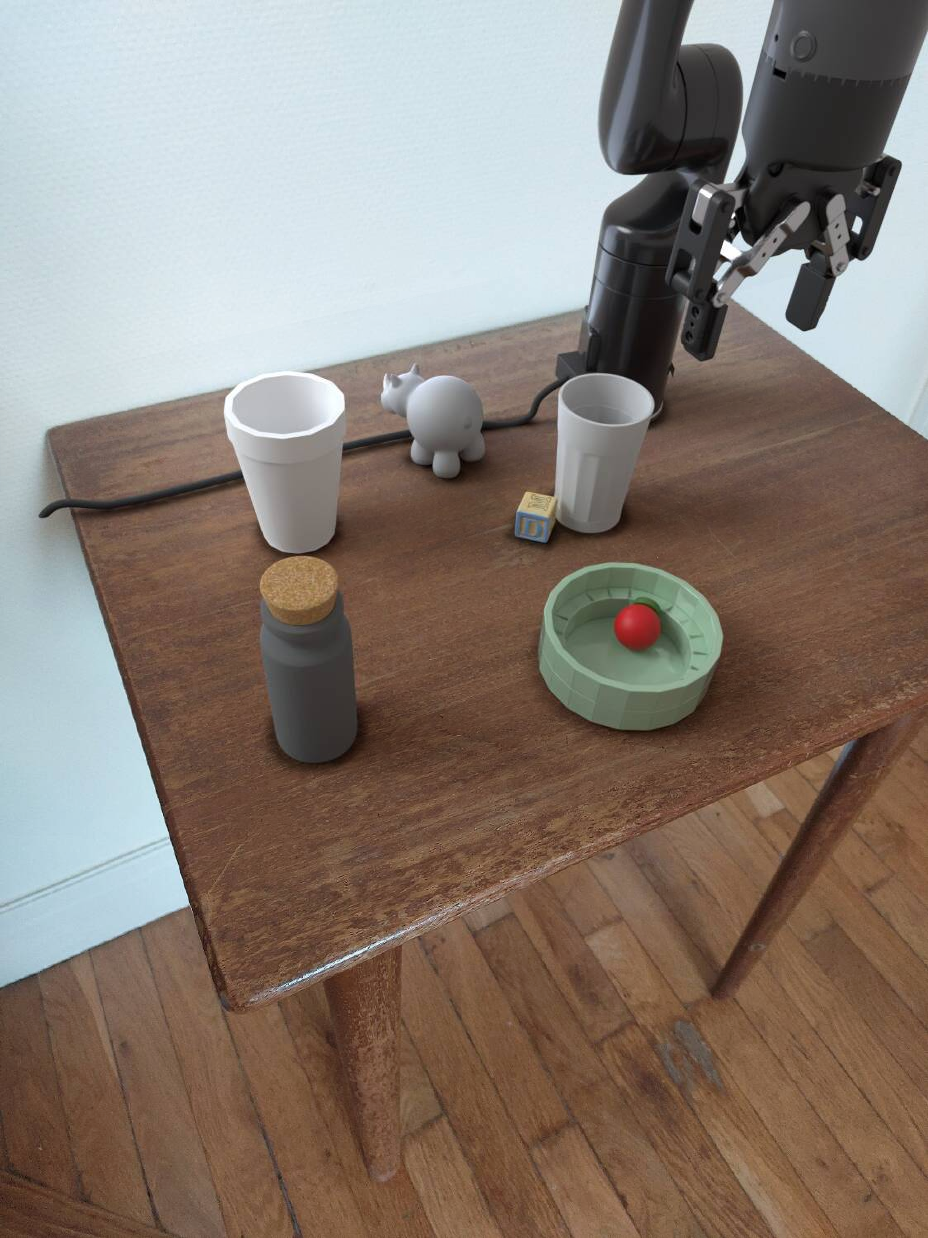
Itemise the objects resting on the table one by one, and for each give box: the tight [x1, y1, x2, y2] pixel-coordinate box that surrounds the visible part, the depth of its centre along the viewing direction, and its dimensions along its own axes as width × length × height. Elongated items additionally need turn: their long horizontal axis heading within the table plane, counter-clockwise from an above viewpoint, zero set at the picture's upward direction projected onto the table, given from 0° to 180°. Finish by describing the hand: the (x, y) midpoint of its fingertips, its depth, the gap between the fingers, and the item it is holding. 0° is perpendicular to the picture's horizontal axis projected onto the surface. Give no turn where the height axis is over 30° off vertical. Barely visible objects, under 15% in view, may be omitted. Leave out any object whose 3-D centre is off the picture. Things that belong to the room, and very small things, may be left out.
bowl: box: [537, 561, 724, 731], centre depth 69 cm, size 13×13×5 cm
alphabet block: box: [514, 491, 558, 544], centre depth 81 cm, size 3×3×3 cm
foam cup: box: [223, 370, 347, 555], centre depth 76 cm, size 10×9×13 cm
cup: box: [553, 373, 654, 534], centre depth 80 cm, size 8×8×12 cm
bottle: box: [259, 555, 358, 764], centre depth 60 cm, size 6×6×15 cm
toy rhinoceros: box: [380, 362, 486, 479], centre depth 87 cm, size 7×12×8 cm, turn 45°
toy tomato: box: [614, 597, 661, 650], centre depth 71 cm, size 4×4×4 cm
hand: (748, 339), depth 58 cm, fingers open, 8 cm apart
